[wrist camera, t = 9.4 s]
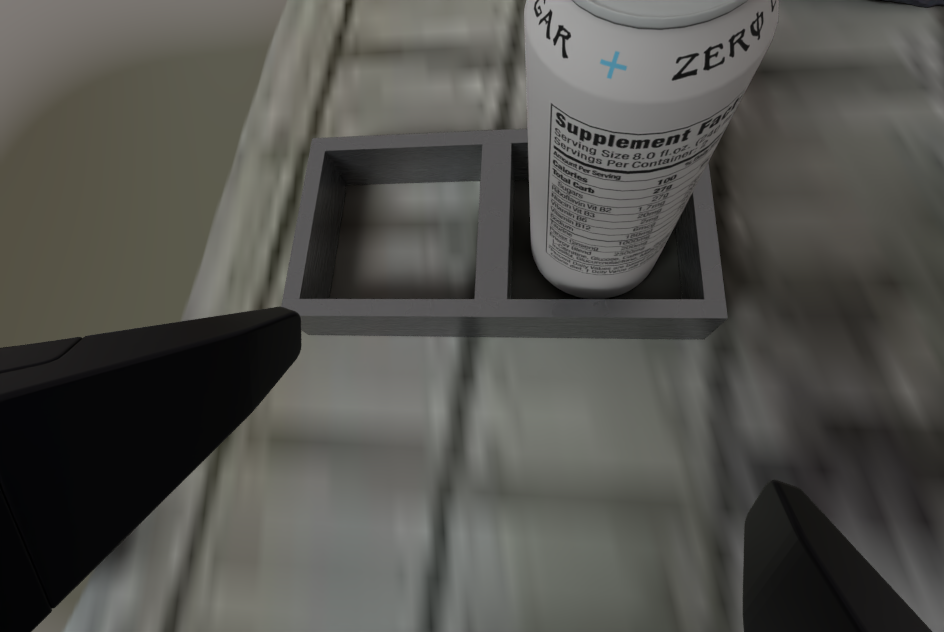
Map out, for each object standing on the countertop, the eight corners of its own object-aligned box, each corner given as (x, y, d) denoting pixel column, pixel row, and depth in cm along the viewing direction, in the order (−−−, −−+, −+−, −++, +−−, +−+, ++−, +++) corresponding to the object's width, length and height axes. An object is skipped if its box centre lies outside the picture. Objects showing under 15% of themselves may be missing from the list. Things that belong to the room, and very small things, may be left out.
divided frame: (703, 339, 23) (727, 318, 20) (308, 334, 25) (279, 315, 22) (685, 161, 26) (703, 120, 23) (334, 173, 28) (312, 138, 25)
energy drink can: (654, 198, 25) (802, -168, 11) (654, 310, 23) (833, 39, 9) (535, 195, 26) (532, -148, 12) (526, 302, 24) (510, 44, 10)
